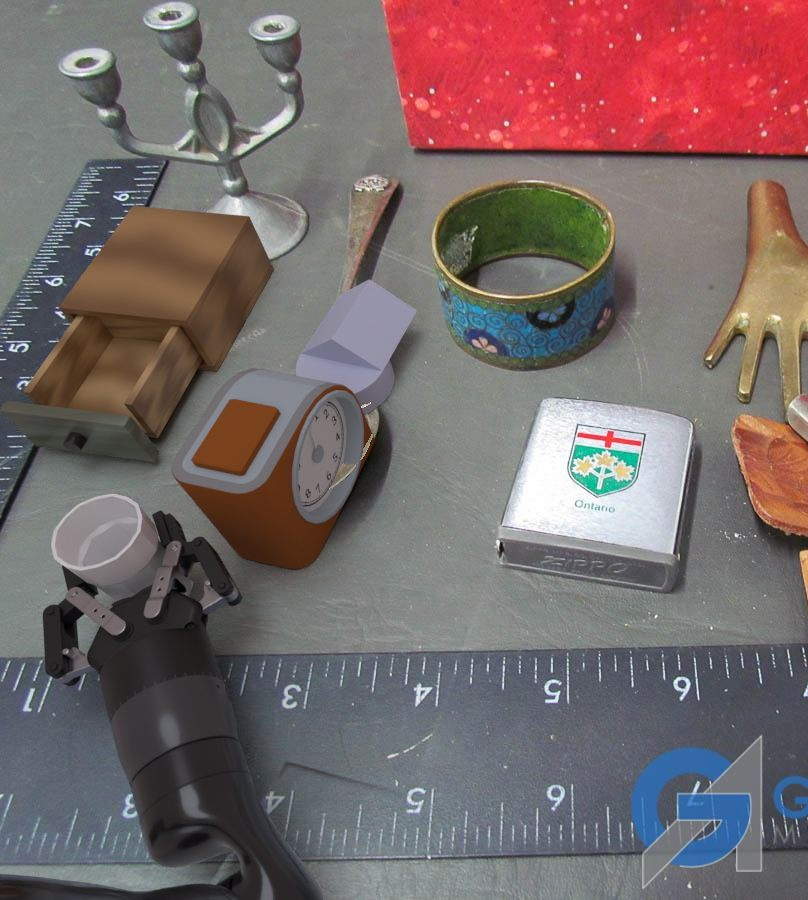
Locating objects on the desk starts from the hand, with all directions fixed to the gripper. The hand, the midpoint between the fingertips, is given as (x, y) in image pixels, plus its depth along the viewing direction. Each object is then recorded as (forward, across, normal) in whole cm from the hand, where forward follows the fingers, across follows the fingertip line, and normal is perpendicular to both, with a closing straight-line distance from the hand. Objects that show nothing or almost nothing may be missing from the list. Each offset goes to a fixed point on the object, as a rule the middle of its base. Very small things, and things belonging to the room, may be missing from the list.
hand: (120, 536), depth 67 cm
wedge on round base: (+13, -24, +7) cm, 28 cm away
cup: (-2, 0, +7) cm, 7 cm away
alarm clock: (+1, -14, +7) cm, 16 cm away
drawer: (+20, -2, +6) cm, 21 cm away
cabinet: (+31, -11, +7) cm, 33 cm away
